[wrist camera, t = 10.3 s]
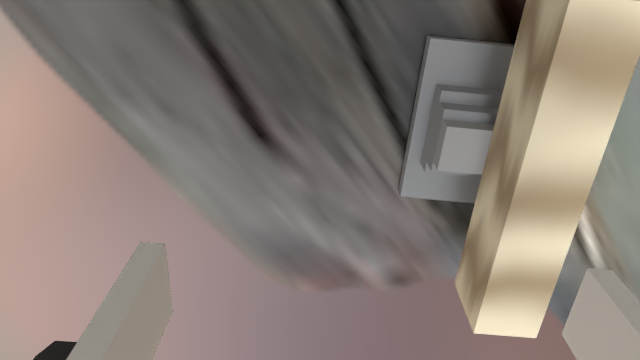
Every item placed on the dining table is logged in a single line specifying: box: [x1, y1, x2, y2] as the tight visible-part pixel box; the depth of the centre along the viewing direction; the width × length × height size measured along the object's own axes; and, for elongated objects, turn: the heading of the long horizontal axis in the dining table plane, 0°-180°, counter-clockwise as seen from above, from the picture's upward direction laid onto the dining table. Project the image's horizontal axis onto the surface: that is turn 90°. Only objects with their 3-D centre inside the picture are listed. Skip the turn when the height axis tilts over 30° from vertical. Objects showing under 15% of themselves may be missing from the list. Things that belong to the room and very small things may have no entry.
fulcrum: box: [398, 36, 515, 204], centre depth 33 cm, size 12×12×6 cm
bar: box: [455, 0, 640, 338], centre depth 28 cm, size 20×4×5 cm, turn 175°
